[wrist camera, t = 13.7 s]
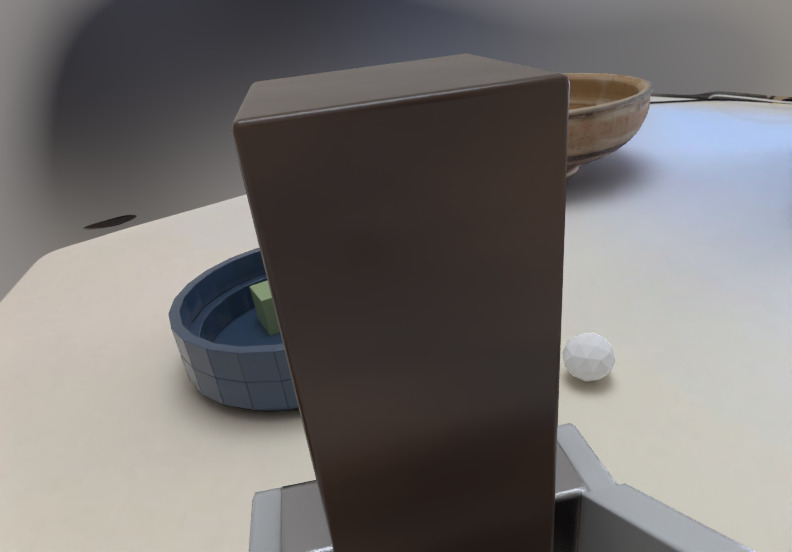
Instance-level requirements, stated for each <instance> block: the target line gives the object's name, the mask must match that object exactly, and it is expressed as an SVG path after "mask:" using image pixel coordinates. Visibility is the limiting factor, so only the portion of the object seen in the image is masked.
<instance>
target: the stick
mask: <svg viewBox="0 0 792 552" xmlns="http://www.w3.org/2000/svg"><path fill="white" fill-rule="evenodd" d="M569 91H570V82H569V79H568V76H567V75H564V74H561V73H557V72H552V71H547V70H542V69H538V68H533V67H528V66H523V65H518V64H514V63H509V62H504V61H499V60H494V59H489V58H485V57H480V56H475V55H471V54H460V55H452V56H446V57H437V58H430V59H422V60H415V61H408V62H400V63H393V64H385V65H378V66H370V67H363V68H356V69H348V70H341V71H333V72H326V73H319V74H312V75H304V76H297V77H289V78H282V79H274V80H267V81H259V82H255V83H254V84H252V85H251V87H250V89H249V91H248V93H247V95H246V97H245V99H244V101H243V103H242V105H241V107H240V109H239V111H238V113H237V115H236V117H235V119H234V121H233V123H232V129H231V132H232V136H233V140H234V144H235V149H236V153H237V156H238V161H239V165H240V169H241V173H242V177H243V181H244V185H245V189H246V193H247V198H248V202H249V206H250V210H251V214H252V218H253V222H254V226H255V231H256V235H257V239H258V243H259V247H260V251H261V255H262V259H263V263H264V267H265V272H266V276H267V280H268V284H269V288H270V292H271V296H272V300H273V304H274V308H275V313H276V317H277V321H278V325H279V329H280V333H281V337H282V341H283V345H284V349H285V353H286V358H287V362H288V366H289V370H290V374H291V378H292V382H293V386H294V390H295V394H296V399H297V403H298V407H299V411H300V415H301V419H302V423H303V427H304V431H305V435H306V440H307V444H308V448H309V452H310V456H311V460H312V464H313V468H314V472H315V476H316V481H317V485H318V489H319V493H320V497H321V501H322V505H323V509H324V513H325V517H326V522H327V526H328V530H329V534H330V538H331V542H332V546H333V550H334V552H553V539H554V511H555V483H556V455H557V427H558V399H559V371H560V343H561V315H562V287H563V259H564V231H565V203H566V175H567V147H568V119H569Z"/></svg>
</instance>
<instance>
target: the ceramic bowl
mask: <svg viewBox="0 0 792 552" xmlns="http://www.w3.org/2000/svg"><path fill="white" fill-rule="evenodd" d="M561 74H564V75H567V76H568V79H569V82H570V91H569V119H568V147H567V175H566V178H568V177H570V176H572V175H574V174H575V173H576V172H577V171H578V170H579V165H582V164H585V163H588V162H591V161H594V160H597V159H600V158H602V157H604V156H606V155H608V154H610V153H612V152H614V151H616V150H617V149H619V148H620V147H622V146H623V145H624V144H626V143H627V142H628V141H629V140H630V139H631V138H632V137H633V136H634V135H635V134H636V133H637V131H638V130H639V129H640V127H641V125H642V123H643V121H644V120H645V118H646V115H647V113H648V110H649V105H650V94H651V93H652V91H653V89H654V87H653V85H652V84H651V83H650V82H648V81H646V80H644V79H640V78H637V77H631V76H625V75H617V74H602V73H561Z"/></svg>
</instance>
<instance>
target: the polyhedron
mask: <svg viewBox="0 0 792 552" xmlns="http://www.w3.org/2000/svg"><path fill="white" fill-rule="evenodd" d="M563 359H564V364H565V367H566V368H567V370H568V371H569V372H570V373H571V374H572V376H575V377H577V378H579V379H581V380H583V381H585V382H587V381H594V380H600V379H601V378H603V377H605V376H606V375H608V374H610V372H611V370H612V367H613V365H614V363H615V356H614V351H613V347H612V346H611V344H610V343H609V342H608V341H607V340H606V339H605V338H603V337H601V336H599V335H597V334H595V333H593V332H587V333H583V334H578V335H576V336H574V337H572V338H571V339H569V340H568V341H567V343H566V346H565V348H564V350H563Z"/></svg>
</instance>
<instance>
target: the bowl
mask: <svg viewBox="0 0 792 552" xmlns="http://www.w3.org/2000/svg"><path fill="white" fill-rule="evenodd" d="M264 281H267V276H266V272H265V267H264V263H263V259H262V255H261V251H260V248H257V249H254V250H251V251H248V252H245V253H243V254H240V255H237V256H235V257H232V258H230V259H228V260H226V261H224V262H222V263H220V264H218V265H216V266H214V267H212V268H210V269H208V270H207V271H205V272H203V273H202V274H201V275H199V276H198V277H197V278H195V279H194V280H192V281H191V282H190V283H188V284H187V285H186V286H185V287H184V289H183V290H182V291H181V292H180V293H179V294H178V295H177V296H176V298H175V299H174V301H173V304H172V306H171V309H170V311H169V319H170V325H171V329H172V332H173V335H174V338H175V340H176V343H177V346H178V349H179V352H180V354H181V357H182V360H183V363H184V366H185V369H186V371H187V374H188V377H189V380H190V381H191V382H192V383H193V385H194V386H195V387H196V388H197V389H198V390H199V391H200V392H201V393H202V394H203V395H204V396H206V397H208V398H210V399H212V400H215V401H217V402H219V403H221V404H223V405H228V406H234V407H240V408H245V409H250V410H258V411H286V410H296V409H299V407H298V403H297V399H296V394H295V390H294V386H293V382H292V378H291V374H290V370H289V366H288V362H287V358H286V353H285V349H284V345H283V341H282V337H281V333H280V332H279V333H277V334H274V335H271V336H270V335H269V333H268V332H267V331H266V329H265V328H264V327H263V325H262V324H261V323H260V321H259V320H258V317H257V313H256V309H255V306H254V302H253V298H252V294H251V291H250V286H252V285H255V284H258V283H261V282H264Z"/></svg>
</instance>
